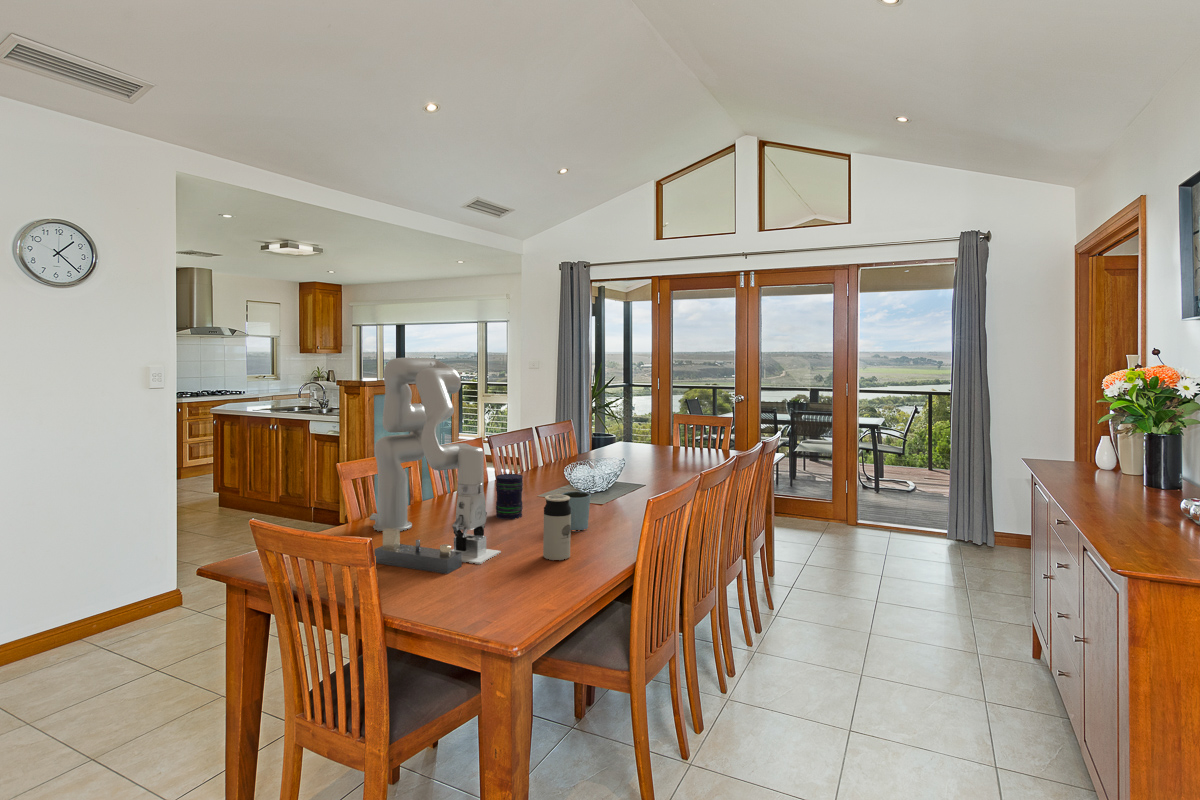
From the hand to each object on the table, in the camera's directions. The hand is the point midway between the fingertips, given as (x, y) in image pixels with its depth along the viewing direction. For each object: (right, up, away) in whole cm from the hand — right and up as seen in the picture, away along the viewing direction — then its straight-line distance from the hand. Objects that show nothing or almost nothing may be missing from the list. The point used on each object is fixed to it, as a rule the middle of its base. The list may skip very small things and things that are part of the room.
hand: (470, 545), depth 190 cm
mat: (0, -3, 0) cm, 3 cm away
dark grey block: (-13, -3, -9) cm, 16 cm away
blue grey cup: (+30, -2, +33) cm, 44 cm away
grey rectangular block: (0, -2, 0) cm, 2 cm away
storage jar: (+5, 0, +48) cm, 49 cm away
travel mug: (+26, -4, 0) cm, 26 cm away
